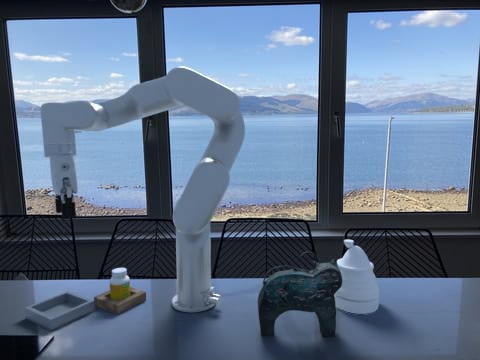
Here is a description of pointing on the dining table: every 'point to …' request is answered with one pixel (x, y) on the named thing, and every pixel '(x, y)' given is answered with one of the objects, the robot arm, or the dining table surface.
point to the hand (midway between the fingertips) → (65, 215)
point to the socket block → (123, 305)
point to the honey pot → (357, 282)
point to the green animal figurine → (300, 295)
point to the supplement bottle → (119, 284)
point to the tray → (59, 310)
